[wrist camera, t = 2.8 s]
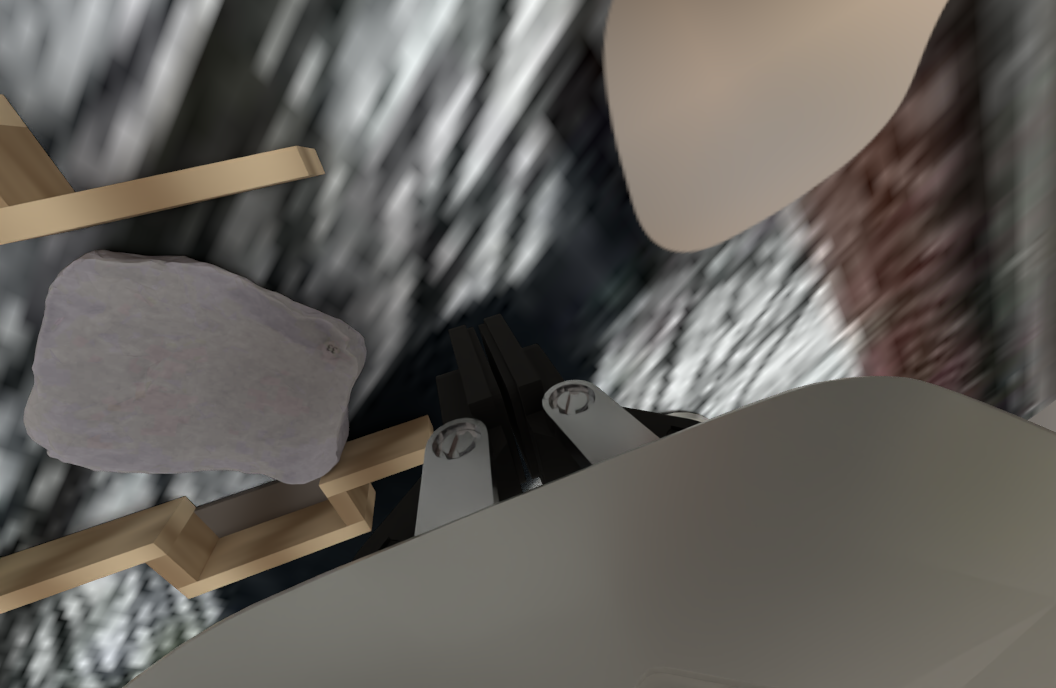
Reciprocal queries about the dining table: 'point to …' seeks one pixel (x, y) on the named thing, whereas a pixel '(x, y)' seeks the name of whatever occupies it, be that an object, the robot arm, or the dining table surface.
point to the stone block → (188, 372)
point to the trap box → (178, 526)
